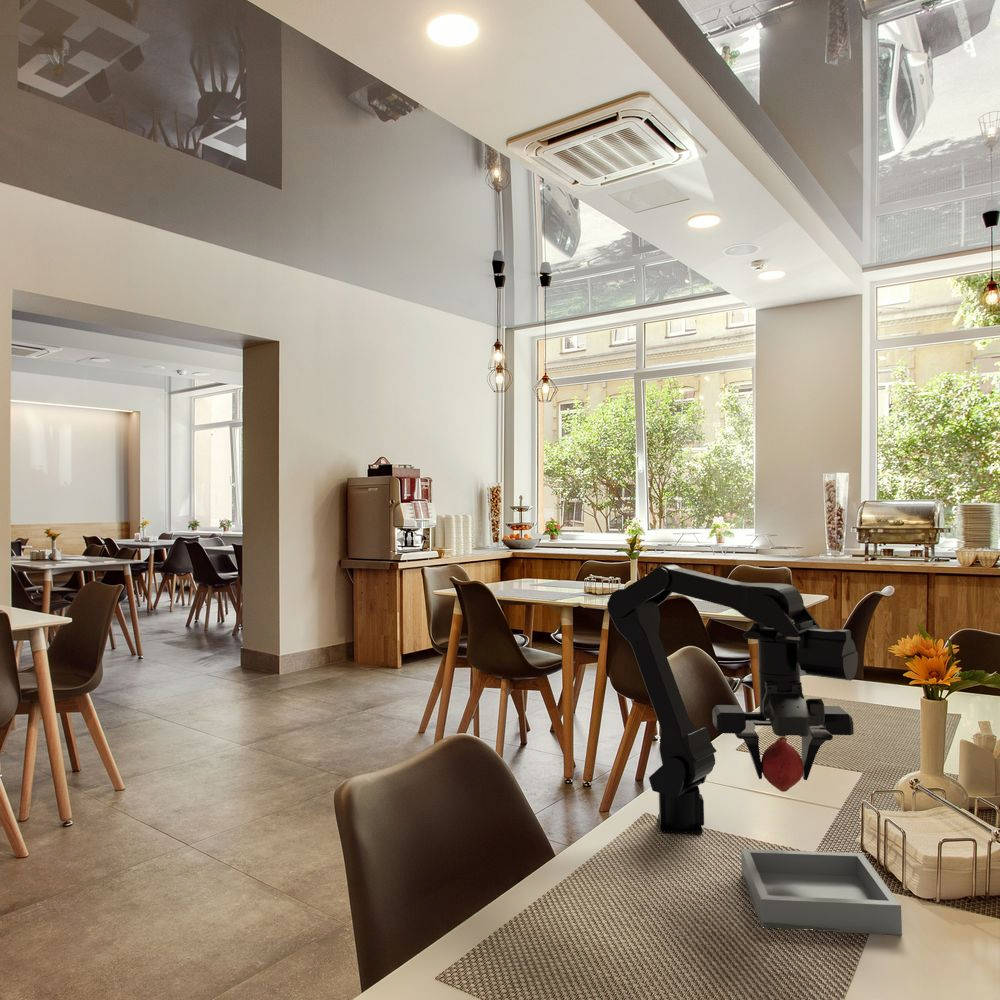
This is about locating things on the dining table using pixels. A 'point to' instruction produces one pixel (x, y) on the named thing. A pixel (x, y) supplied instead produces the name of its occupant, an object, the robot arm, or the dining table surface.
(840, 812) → the dining table surface
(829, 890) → the tray
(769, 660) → the robot arm
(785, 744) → the onion
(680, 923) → the dining table surface
